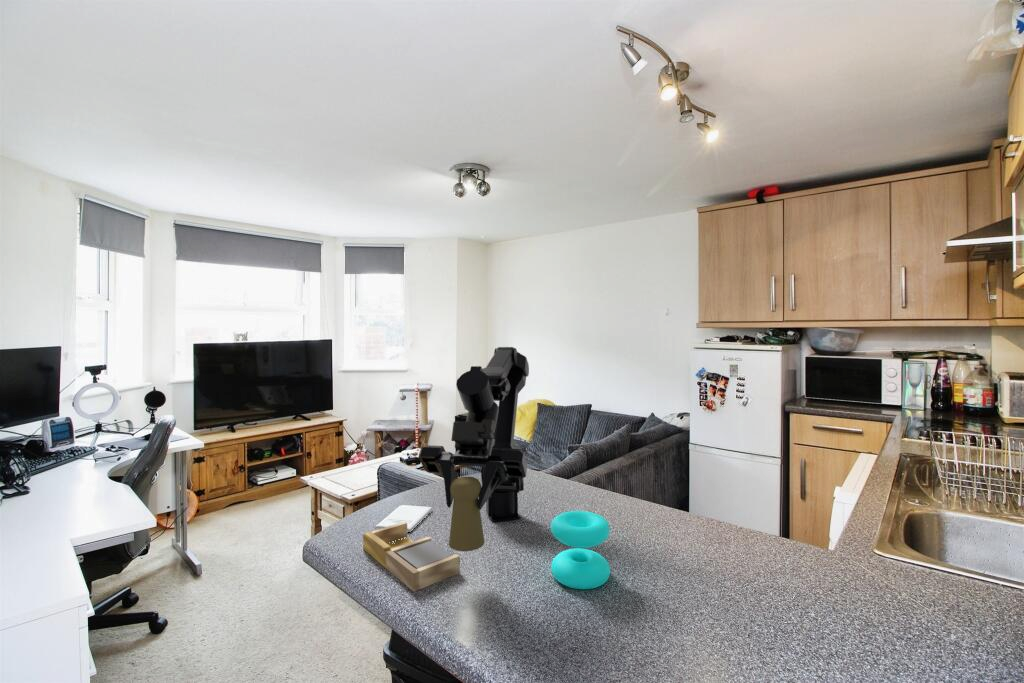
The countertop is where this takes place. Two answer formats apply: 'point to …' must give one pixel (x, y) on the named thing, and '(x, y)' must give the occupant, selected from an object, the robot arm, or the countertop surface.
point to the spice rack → (410, 556)
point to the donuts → (580, 549)
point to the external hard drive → (405, 516)
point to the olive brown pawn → (466, 515)
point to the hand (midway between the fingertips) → (463, 507)
